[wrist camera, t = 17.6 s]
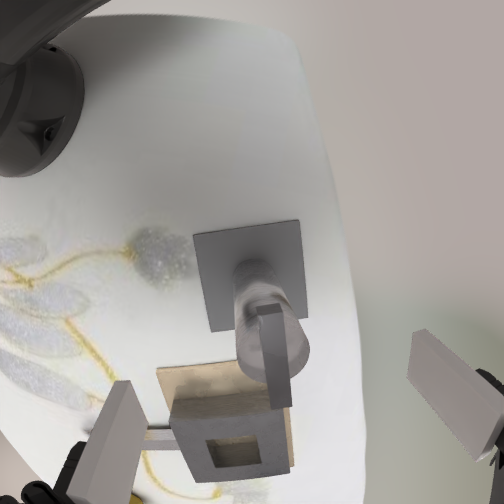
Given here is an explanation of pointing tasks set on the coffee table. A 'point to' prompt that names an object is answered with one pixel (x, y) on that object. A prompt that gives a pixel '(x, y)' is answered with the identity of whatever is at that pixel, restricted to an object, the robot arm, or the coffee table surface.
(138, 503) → the flower pot
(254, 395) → the square hole fixture
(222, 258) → the mat
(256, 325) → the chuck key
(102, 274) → the coffee table surface
